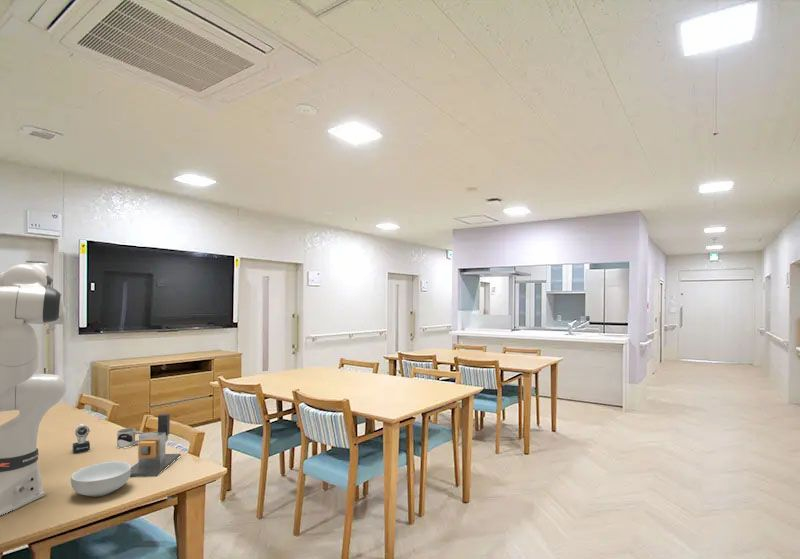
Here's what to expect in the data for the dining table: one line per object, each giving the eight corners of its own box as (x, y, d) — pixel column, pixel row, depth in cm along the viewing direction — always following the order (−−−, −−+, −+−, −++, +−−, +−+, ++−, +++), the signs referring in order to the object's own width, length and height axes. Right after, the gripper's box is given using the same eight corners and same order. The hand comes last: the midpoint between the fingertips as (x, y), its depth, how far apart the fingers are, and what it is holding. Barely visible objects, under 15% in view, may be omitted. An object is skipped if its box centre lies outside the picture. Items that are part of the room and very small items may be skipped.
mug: (115, 449, 193) (115, 433, 193) (119, 444, 199) (119, 429, 200) (141, 446, 196) (142, 431, 196) (145, 442, 202) (145, 427, 203)
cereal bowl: (56, 501, 144) (57, 478, 145) (98, 480, 161) (98, 460, 161) (105, 504, 142) (105, 481, 142) (142, 482, 159) (142, 462, 159)
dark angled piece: (148, 454, 167) (149, 425, 167) (138, 454, 167) (139, 425, 167) (169, 440, 183) (169, 414, 183) (160, 440, 183) (160, 414, 183)
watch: (74, 454, 186) (74, 427, 187) (72, 449, 192) (72, 423, 193) (90, 451, 190) (91, 425, 190) (88, 446, 196) (88, 421, 196)
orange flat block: (153, 458, 168) (153, 442, 169) (138, 458, 168) (138, 443, 168) (156, 456, 170) (156, 441, 171) (141, 456, 170) (141, 441, 170)
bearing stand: (156, 476, 164) (156, 441, 164) (122, 477, 163) (122, 441, 164) (180, 456, 184) (181, 425, 184) (150, 457, 183) (151, 425, 184)
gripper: (-2, 301, 171) (-2, 335, 174) (64, 304, 181) (63, 336, 184) (3, 296, 177) (3, 330, 180) (67, 299, 186) (66, 331, 189)
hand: (34, 333), depth 182 cm, fingers open, 8 cm apart
